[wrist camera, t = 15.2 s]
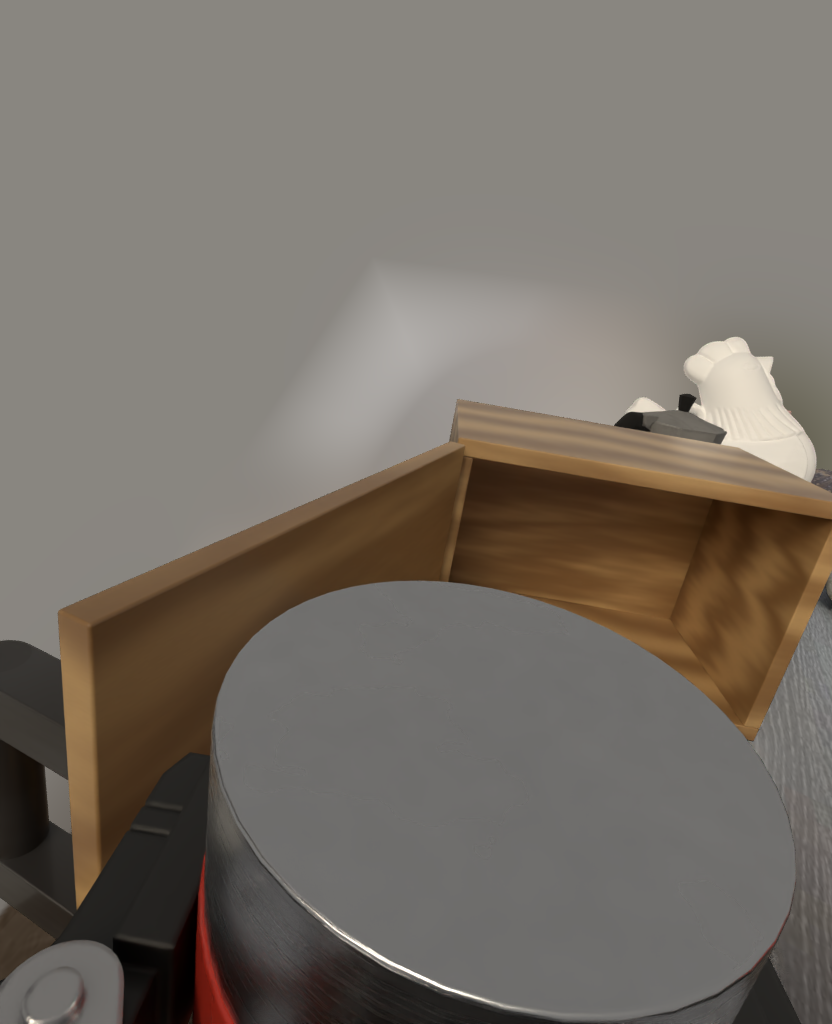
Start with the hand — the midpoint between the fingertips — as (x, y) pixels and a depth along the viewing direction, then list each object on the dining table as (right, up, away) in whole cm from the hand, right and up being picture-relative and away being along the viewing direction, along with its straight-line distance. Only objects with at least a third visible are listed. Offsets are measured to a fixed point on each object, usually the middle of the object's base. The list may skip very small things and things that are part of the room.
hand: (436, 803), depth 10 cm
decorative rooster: (+40, +5, +75) cm, 85 cm away
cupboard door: (-7, -8, +17) cm, 20 cm away
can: (-1, -6, 0) cm, 6 cm away
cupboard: (+11, -5, +33) cm, 35 cm away
